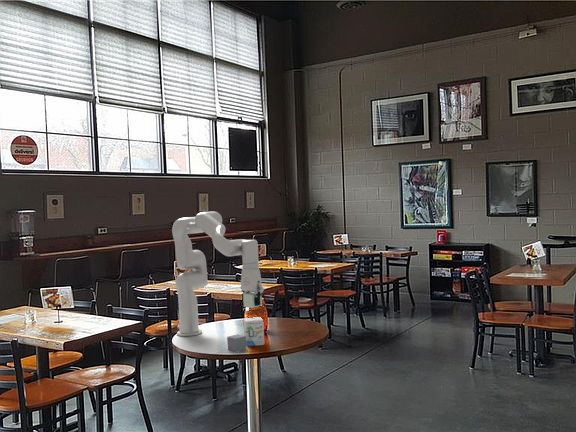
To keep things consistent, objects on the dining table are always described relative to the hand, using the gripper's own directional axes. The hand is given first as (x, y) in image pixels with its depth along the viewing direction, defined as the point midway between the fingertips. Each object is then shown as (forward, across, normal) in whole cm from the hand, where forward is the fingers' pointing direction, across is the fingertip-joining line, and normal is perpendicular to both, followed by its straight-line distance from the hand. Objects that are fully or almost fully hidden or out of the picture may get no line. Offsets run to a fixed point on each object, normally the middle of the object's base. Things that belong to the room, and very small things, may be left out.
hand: (252, 304), depth 268 cm
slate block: (+18, +2, -12) cm, 22 cm away
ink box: (+19, 0, 0) cm, 19 cm away
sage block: (+1, 0, 0) cm, 1 cm away
